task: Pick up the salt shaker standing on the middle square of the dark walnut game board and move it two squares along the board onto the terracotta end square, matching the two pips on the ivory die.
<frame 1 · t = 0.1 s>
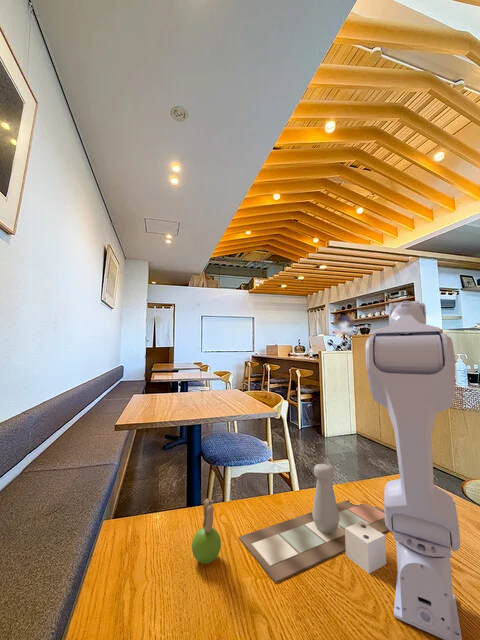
hand: (412, 382, 70), 32 cm above the table, tool tilted 50°, fingers open, 7 cm apart
game board: (326, 530, 61), on the table
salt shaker: (326, 529, 61), resting on game board
green ball handle toy: (206, 563, 51), on the table
die: (365, 560, 52), on the table
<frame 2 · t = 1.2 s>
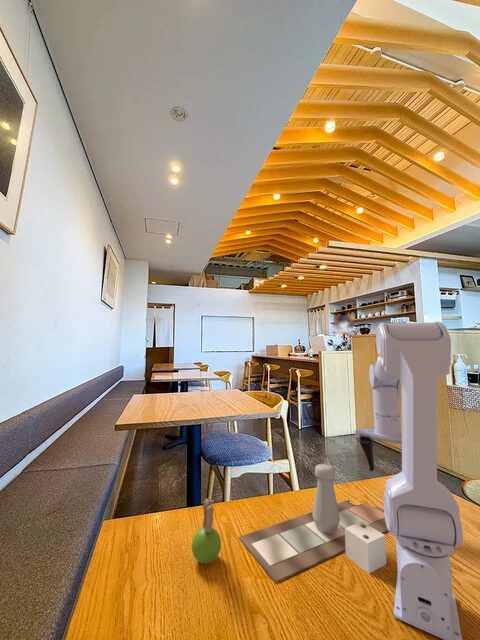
hand: (389, 473, 66), 11 cm above the table, tool pointing down, fingers open, 7 cm apart
nothing on the table moved.
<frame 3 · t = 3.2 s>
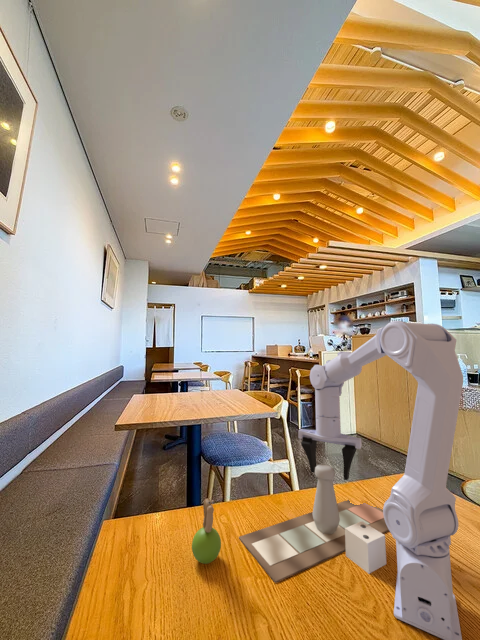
hand: (329, 474, 65), 10 cm above the table, tool pointing down, fingers open, 7 cm apart
nothing on the table moved.
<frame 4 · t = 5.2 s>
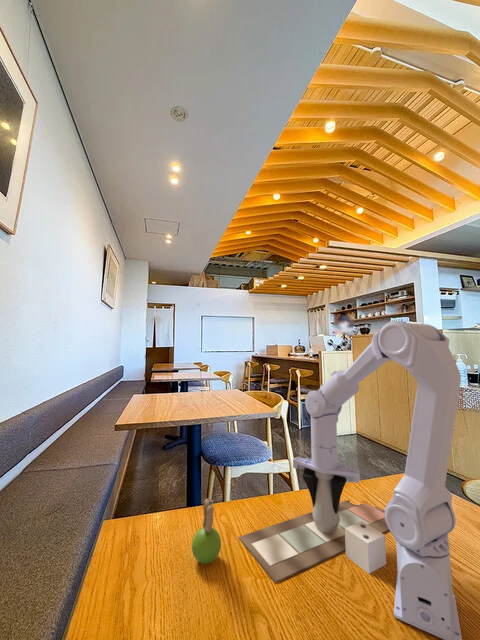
hand: (325, 508, 61), 5 cm above the table, tool pointing down, fingers closed on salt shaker, 4 cm apart
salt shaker: (326, 529, 61), resting on game board, touching gripper
everything else where it was.
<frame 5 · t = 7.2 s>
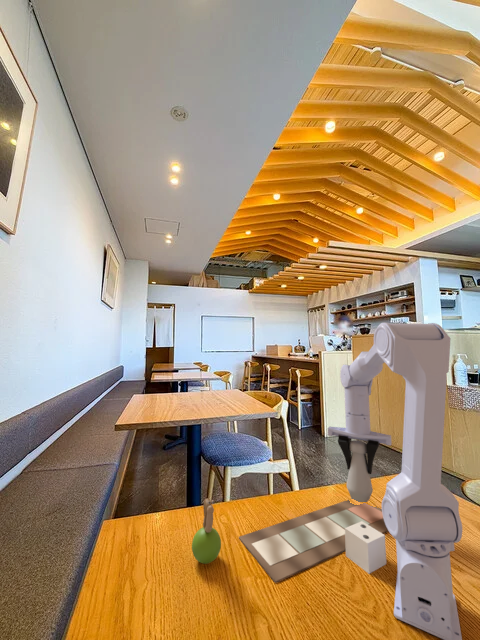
hand: (359, 470, 68), 10 cm above the table, tool pointing down, fingers closed on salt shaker, 4 cm apart
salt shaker: (359, 499, 66), point 4 cm above the table, touching gripper
everything else where it was.
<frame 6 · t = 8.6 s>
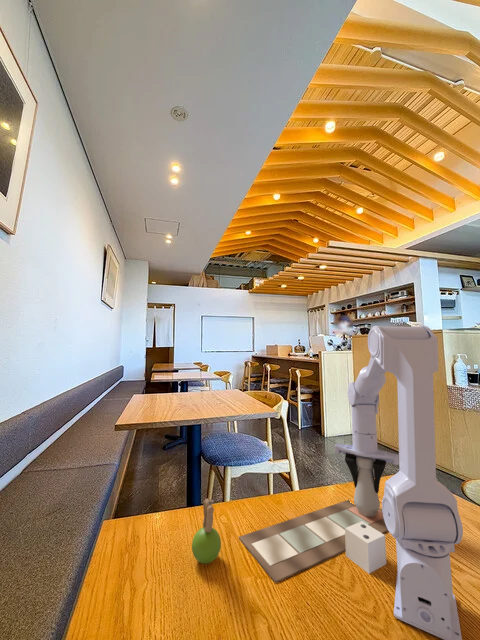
hand: (366, 488, 68), 6 cm above the table, tool pointing down, fingers closed on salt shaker, 4 cm apart
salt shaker: (366, 513, 67), resting on game board, touching gripper
everything else where it was.
when the fingers open (6 cm above the table, at t = 9.0 s): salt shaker stays where it is, resting on game board.
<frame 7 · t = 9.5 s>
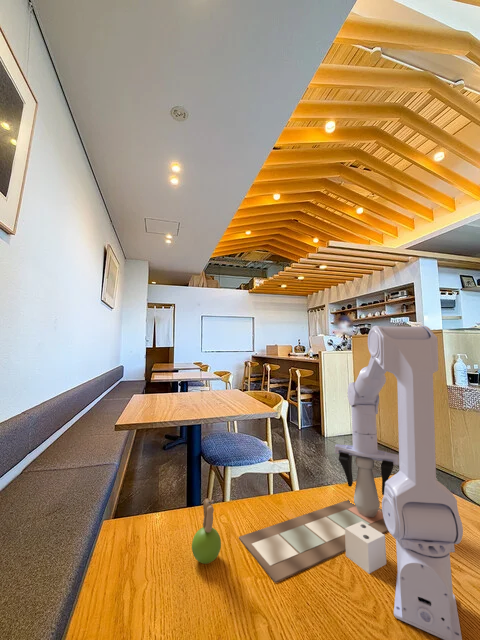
hand: (366, 489, 68), 6 cm above the table, tool pointing down, fingers open, 7 cm apart
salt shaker: (366, 513, 67), resting on game board
everything else where it was.
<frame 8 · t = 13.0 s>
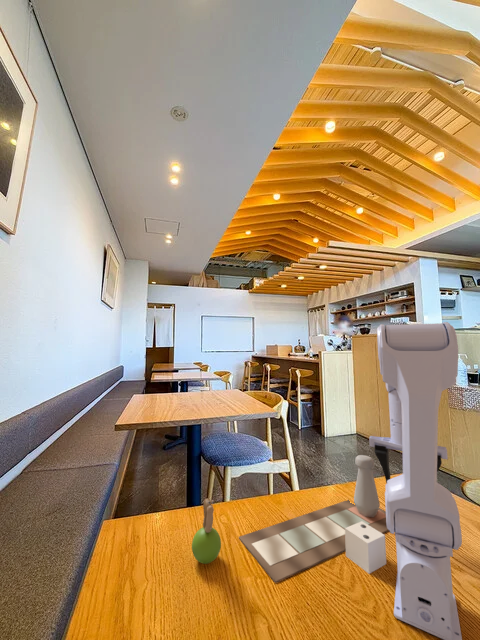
hand: (408, 486, 59), 10 cm above the table, tool pointing down, fingers open, 7 cm apart
nothing on the table moved.
at the end: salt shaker 0.4 cm from the target spot, resting on game board; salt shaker tilted 0°; the gripper is holding nothing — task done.
